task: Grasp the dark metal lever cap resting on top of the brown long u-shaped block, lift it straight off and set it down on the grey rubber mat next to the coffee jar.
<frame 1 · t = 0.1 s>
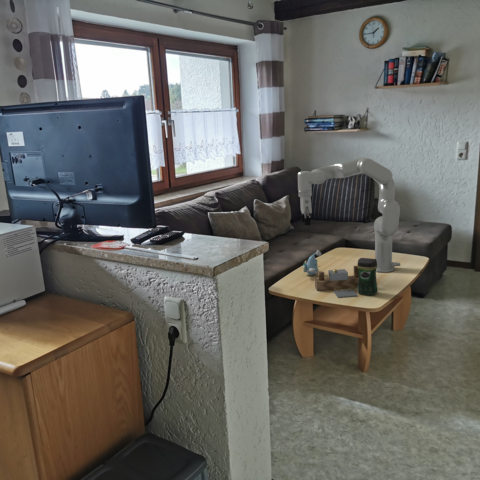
hand: (306, 223, 278), 31 cm above the table, fingers open, 9 cm apart
mat: (345, 294, 251), on the table
toy figure: (312, 275, 286), on the table
coffee jar: (367, 293, 250), on the table
brown long u-shaped block: (340, 287, 262), on the table
lever cap: (338, 278, 261), point 5 cm above the table, touching brown long u-shaped block
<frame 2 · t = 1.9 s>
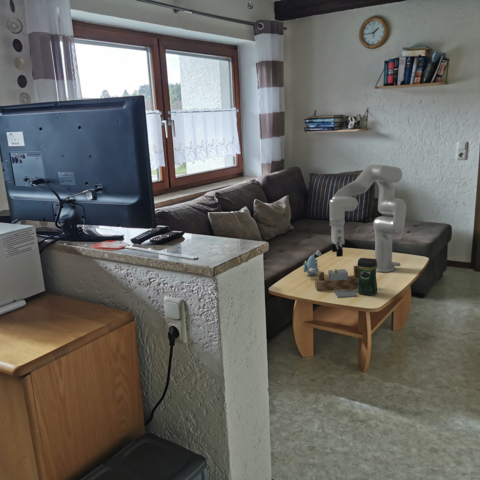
hand: (337, 254, 257), 19 cm above the table, fingers open, 9 cm apart
nothing on the table moved.
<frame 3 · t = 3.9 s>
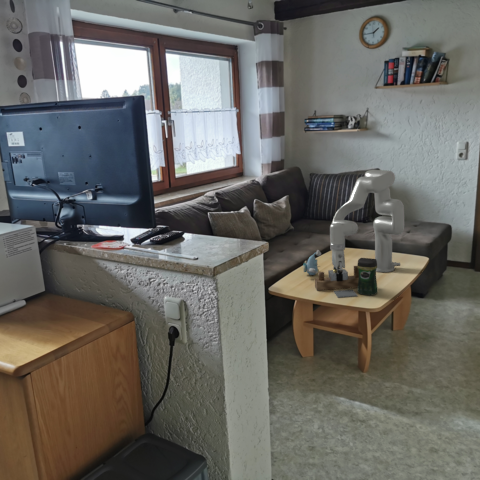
hand: (338, 278, 261), 5 cm above the table, fingers closed on lever cap, brown long u-shaped block, 6 cm apart
lever cap: (338, 278, 261), point 5 cm above the table, touching gripper, brown long u-shaped block
everything else where it was.
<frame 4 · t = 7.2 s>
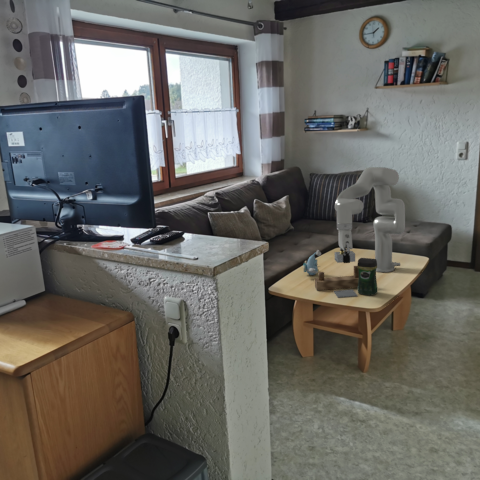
hand: (344, 260, 247), 18 cm above the table, fingers closed on lever cap, 6 cm apart
lever cap: (344, 260, 247), point 18 cm above the table, touching gripper
everything else where it was.
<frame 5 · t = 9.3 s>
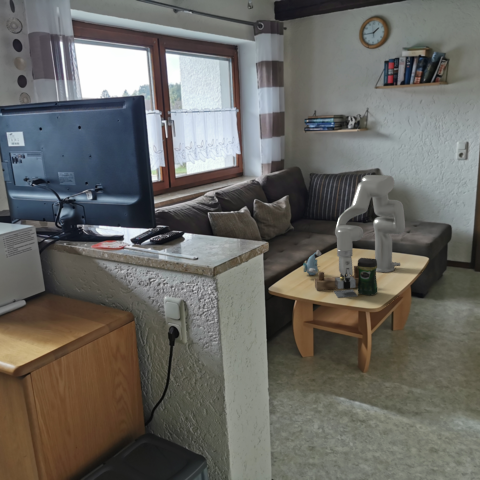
hand: (345, 286, 250), 4 cm above the table, fingers closed on lever cap, 6 cm apart
lever cap: (345, 286, 250), point 4 cm above the table, touching gripper
everything else where it was.
when the fingers open (2 cm above the table, at t = 10.8 s): lever cap drops 1 cm, resting on mat.
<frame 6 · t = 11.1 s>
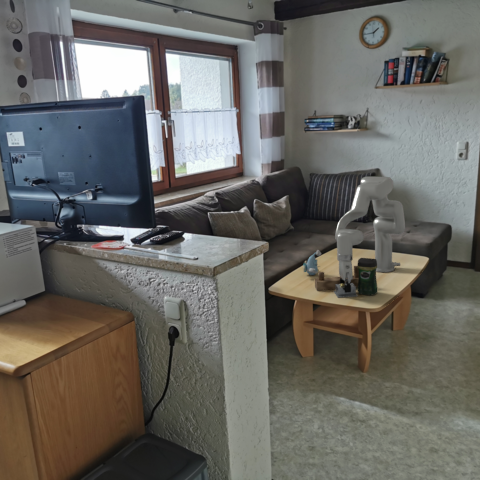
hand: (345, 289, 250), 3 cm above the table, fingers open, 9 cm apart
lever cap: (345, 292, 251), point 1 cm above the table, touching mat
everything else where it was.
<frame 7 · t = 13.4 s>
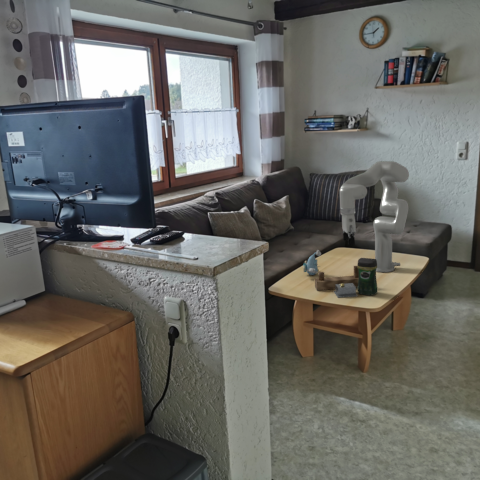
hand: (348, 242, 259), 24 cm above the table, fingers open, 9 cm apart
nothing on the table moved.
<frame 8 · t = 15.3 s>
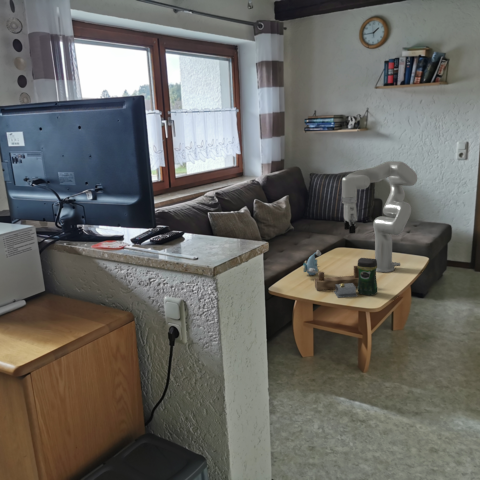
hand: (349, 231, 264), 28 cm above the table, fingers open, 9 cm apart
nothing on the table moved.
at the end: lever cap inside the target area on the mat (0.1 cm from its centre), point 0.6 cm above the mat's base; lever cap touching mat; the gripper is holding nothing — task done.
